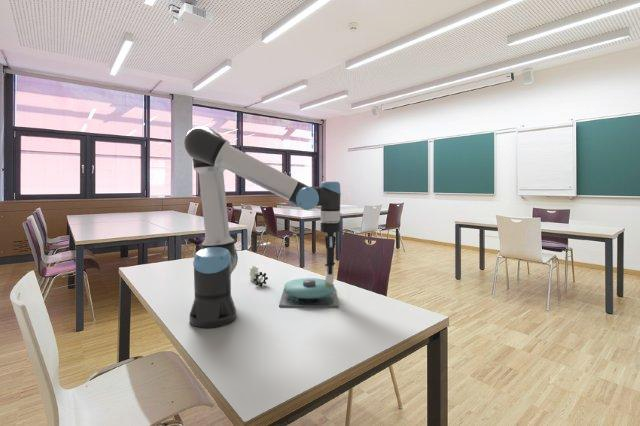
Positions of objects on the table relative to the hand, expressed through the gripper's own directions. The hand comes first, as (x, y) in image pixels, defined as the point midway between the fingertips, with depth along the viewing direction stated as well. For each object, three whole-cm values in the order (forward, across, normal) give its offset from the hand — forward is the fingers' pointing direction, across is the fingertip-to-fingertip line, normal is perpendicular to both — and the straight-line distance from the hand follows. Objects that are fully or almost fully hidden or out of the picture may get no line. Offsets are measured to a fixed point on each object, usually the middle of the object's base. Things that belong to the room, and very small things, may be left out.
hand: (329, 281), depth 130 cm
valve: (+8, +24, +33) cm, 41 cm away
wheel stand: (+8, +4, +8) cm, 12 cm away
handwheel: (+5, +5, +8) cm, 10 cm away
